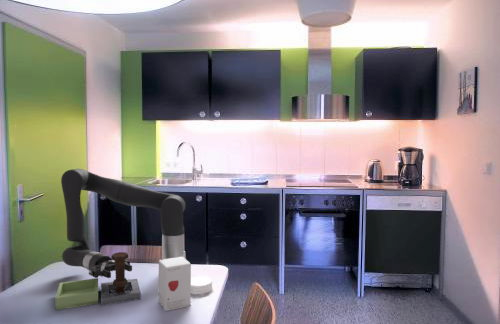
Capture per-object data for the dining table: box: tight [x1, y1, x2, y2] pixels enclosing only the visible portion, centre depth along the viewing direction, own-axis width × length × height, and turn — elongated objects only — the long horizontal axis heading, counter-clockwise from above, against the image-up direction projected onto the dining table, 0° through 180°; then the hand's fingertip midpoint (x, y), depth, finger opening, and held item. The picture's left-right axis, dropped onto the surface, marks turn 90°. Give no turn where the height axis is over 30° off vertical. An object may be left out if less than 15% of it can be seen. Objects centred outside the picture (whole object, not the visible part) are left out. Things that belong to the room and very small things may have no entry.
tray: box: [54, 277, 99, 311], centre depth 127 cm, size 13×14×4 cm
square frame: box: [100, 278, 142, 306], centre depth 131 cm, size 13×14×2 cm
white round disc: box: [191, 275, 213, 296], centre depth 136 cm, size 10×10×4 cm
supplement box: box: [158, 257, 192, 312], centre depth 123 cm, size 9×9×15 cm
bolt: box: [110, 251, 129, 293], centre depth 131 cm, size 6×5×15 cm
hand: (120, 271), depth 130 cm, fingers open, 8 cm apart
